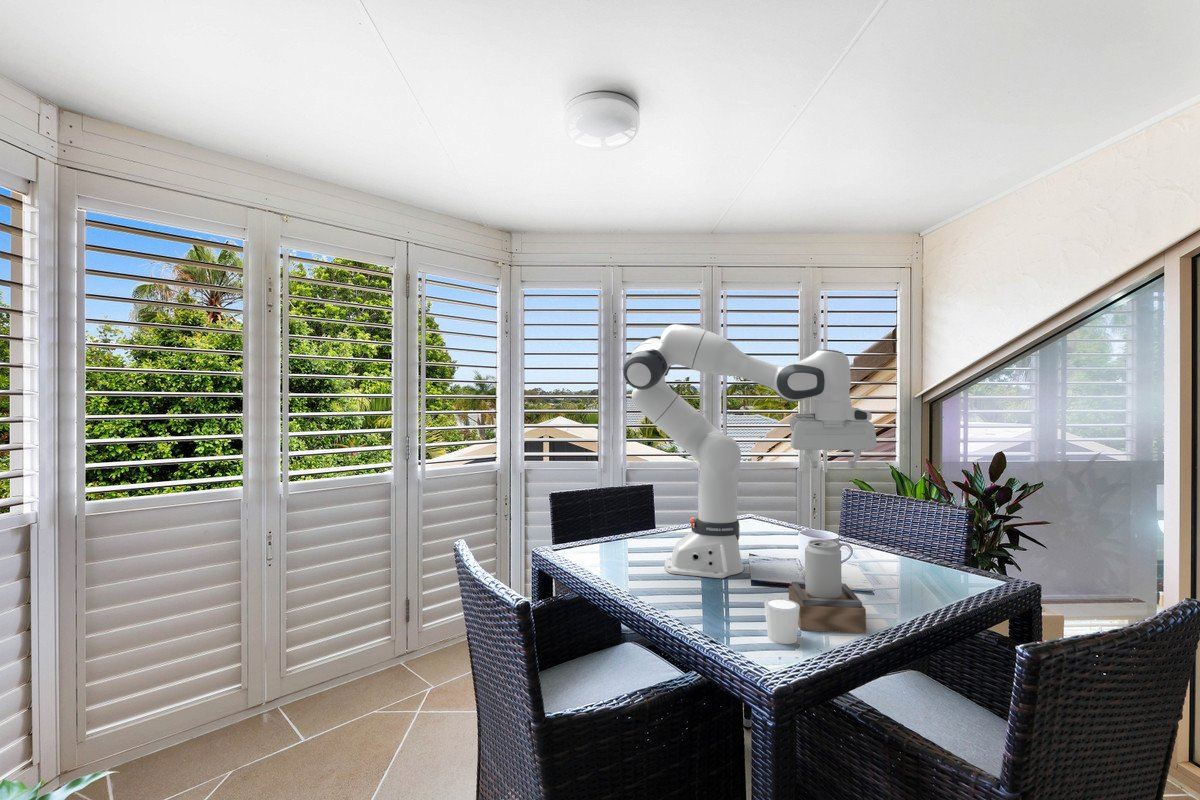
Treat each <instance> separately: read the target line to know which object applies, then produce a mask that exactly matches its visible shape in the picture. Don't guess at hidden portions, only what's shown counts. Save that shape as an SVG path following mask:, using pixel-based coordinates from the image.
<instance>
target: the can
mask: <svg viewBox="0 0 1200 800" xmlns="http://www.w3.org/2000/svg"><path fill="white" fill-rule="evenodd" d="M804 568H805V569H804V572H805V574H804V578H805V579H804V580H805V581H804V582H805V591H806V593H807V594H809V596H810V597H812V598H820V599H838V598H839V597H840V596H842V550H841V549H840V548H839V544H838V543H837V542H835V541H832V540H827V539H812V540H808V541H807V545H806V546H805V548H804Z"/></svg>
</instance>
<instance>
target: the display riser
mask: <svg viewBox="0 0 1200 800" xmlns="http://www.w3.org/2000/svg"><path fill="white" fill-rule="evenodd" d="M788 600H791V601H794V602H796V603H798V604H799V606H800V608H799V620H798V629H799V630H800V631H811V632H812V631H814V632H815V631H816V632H817V631H818V632H834V633H835V632H836V633H837V632H839V633H855V634H856V633H857V634H866V632H867V623H866V622H867V620H866V618H867V616H866V615H867V614H866V608H865V606H864V605H863V601H861V599H860V598H859V597H858V596H857V595H856V593H855V592H854V591H853V590H852V589H851V588H850V586H849V585H847V584H846V583H844V582H843V583H842V596H840V597H839V598H838V599H820V598H812V597H810V596H809V594H807V593H806V591H805V581H791V585H789V586H788Z"/></svg>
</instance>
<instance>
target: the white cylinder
mask: <svg viewBox="0 0 1200 800" xmlns="http://www.w3.org/2000/svg"><path fill="white" fill-rule="evenodd" d="M799 608H800V606H799V604H798V603H796V602H794V601H791V600H789V599H786V598H768V599H766V600H765V601H764V613H765V623H766V631H767V638H768V639H769V640H770V641H772V642H774V643H776V644H781V645H791V644H794V643H796V642H797V640H798V632H799V631H798V629H799V626H798V620H799Z"/></svg>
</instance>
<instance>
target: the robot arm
mask: <svg viewBox="0 0 1200 800" xmlns="http://www.w3.org/2000/svg"><path fill="white" fill-rule="evenodd" d="M674 365H677V366H682V367H686V368H688V369H691V370H694V371H697V372H700V373H703V374H710V375H717V376H729V377H737V378H742V379H743V380H747V381H750V382H753V383H756V384H758V385H759V384H760V385H761V386H764V387H767V388H769V389H771V390H772V391H773V393H775V394H776V395H777V396H778V397H780V398H781V399H782V400H784V401H786V402H791V403H797V402H800V401H803V400H806V399H807V398H812V399H813V413H795V415H793V416H792V417H790V420H789V428H790V430H791V435H790V446H791V448H792V449H793V450H795V451H798V450H799V451H804V454H805V455H806V458H807V460H808V461H809V468H811V469H817V468H818V460H816V459H815V460H814V459H813V457H812V455H813V453H814V452H813V451H852V454H853V455H854V456H853V457H852V459H851V460H848V468H850V469H857V466H858V465H857V462H858V460H859V459H860V457H861V456H862V451H873V450H875V449H876V447H877V445H878V444H877V443H878V441H877V435H876V434H877V433H876V427H875V425H874V424H873V422H872V421H871V420H872V418H873V415H872V412H870V411H867V410H863V409H860V408H857V407H853V406H852V399H851V396H850V389H851V386H852V384H851V383H852V379H851V378H852V376H851V375H852V374H851V367H850V360H849V357H848V356H847V354H845V353H844V352H842V351H839V350H834V349H817V350H816V351H815V352H814V353H812V354H811V355H809V356H807V357H806V358H803V359H801V360H799V361H796V362H793V363H790V364H788V365H784V366H783V365H782V366H781V365H775V364H773V363H770V362H766V361H764V360H761V359H759V358H755V357H752V356H750V355H748V354H746V353H744V352H743V351H742V350H740V349H739V348H738V347H737V346H736V345H735V344H734V343H733V342H732V341H730V340H728V339H727V338H726V337H723V336H721V335H719V334H717V333H714V332H712V331H709V330H706V329H703V328H700V327H695V326H690V325H686V324H679V323H678V324H677V323H676V324H675V323H673V324H671V325H669V326H667V327H666V328H665V329H664V330H663V332H662V334H661V336H659V335H656V336H650V337H647V338H645V339H644V340H643V341H642V342H641V343H640V344H638V345H637V346H636V347H635V348H634V349H633V351H632V352H631V354H629V356H628V357H627V359H626V360H625V363H624V365H623V369H622V370H623V373H622V374H623V378H624V379H625V382H627V384H628V385H629V386H631V388H632V392H631V401H632V402H633V404H634V405H635V406H636V407H637V409H638V410H639V411H640V412H641V413H642V415H644V416H645V417H646V418H647V419H648V421H650V422H651V423H652V424H653V425H654V426H655V427H657V428H658V429H659V430H660V431H661V432H663V433H664V434H665V435H667V436H668V437H669V438H670V439H671V440H672V441H674V442H675V443H676V444H677V445H678V446H679V447H681V448H682V449H683V450H684V451H686V453H688V454H689V456H691V457H692V458H693V459H694V460H696V461H697V462H698V463H699V465H700V466H699V468H700V469H699V480H698V481H699V482H698V484H699V485H698V490H697V499H698V501H697V504H698V505H697V508H698V509H697V510H698V513H697V514H698V517H697V518H696V517H694V516H693V517H691V518H690V519H689V523H690V527H691V528H690V529H691V531H690V532H689V533H687V534H686V535H685V536H683V537H682V538H680V539H679V540H677V541H676V542H675V544H674V546H673V549H672V553H671V556H670V557H668V558H667V559H666V560H665V562H664V569H665V571H666V572H667V573H670V574H673V575H682V576H694V577H695V576H696V577H705V578H714V579H725V578H726V577H730V576H734V575H737V574H740V573H742V572H744V569H745V568H744V565H743V562H742V556H741V551H740V543H739V540H740V536H741V535H740V531H741V530H740V527H741V526H740V521H739V519H738V488H739V487H738V486H739V480H740V470H741V461H742V460H741V458H742V453H741V448H740V446H739V444H738V443H737V441H736V440H735V439H734V438H733V437H731V436H728V435H726V434H725V433H723V432H721V431H720V430H719V429H718V428H717V427H715V426H714V425H713V424H712V423H711V422H710V421H709V420H708V419H707V418H706V417H704V416H703V414H702V413H701V412H700V411H698V410H697V409H696V408H695V407H694V406H692V405H691V404H690V403H689V402H688V401H686V400H685V399H684V398H683V397H682V396H681V395H679V393H677V392H676V391H674V390H673V389H672V388H671V387H670V386H669V384H667V382H666V376H668V374H669V372H670V369H671V367H672V366H674Z"/></svg>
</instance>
